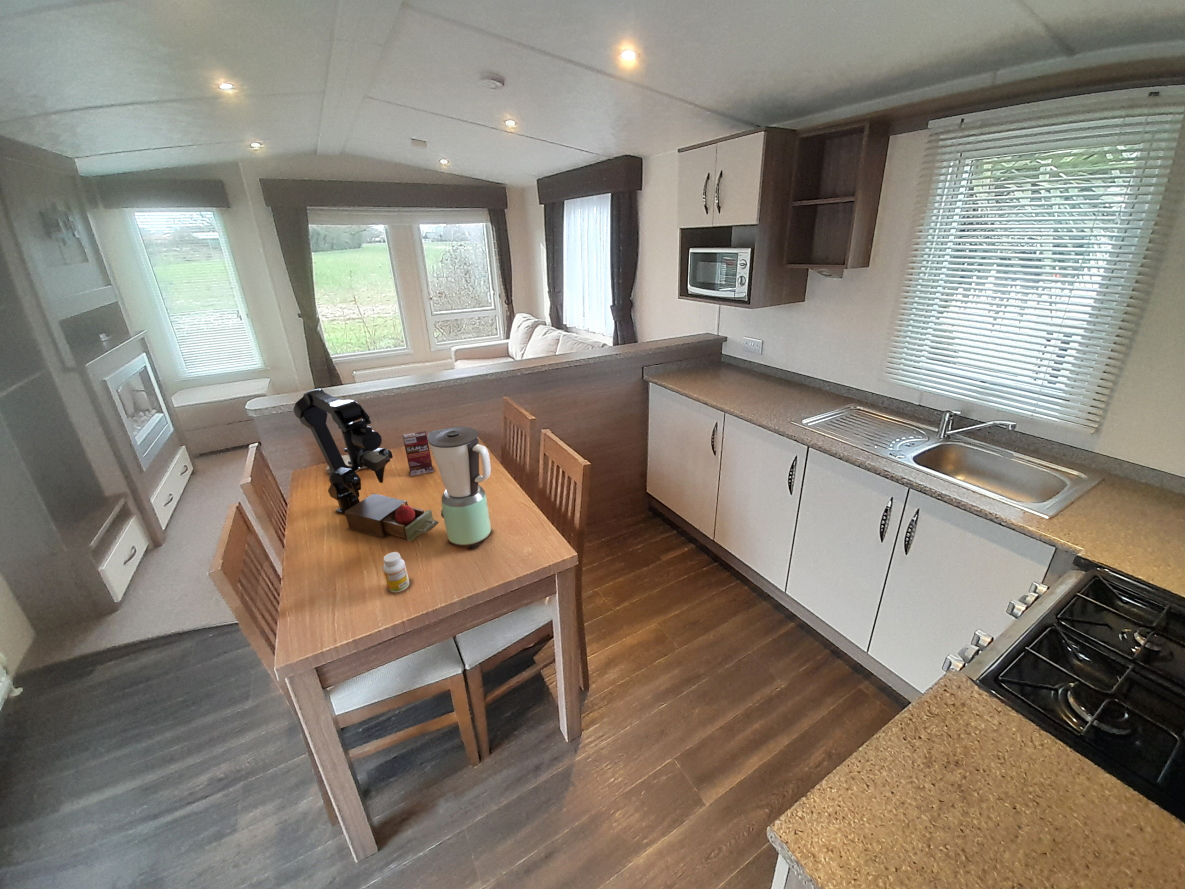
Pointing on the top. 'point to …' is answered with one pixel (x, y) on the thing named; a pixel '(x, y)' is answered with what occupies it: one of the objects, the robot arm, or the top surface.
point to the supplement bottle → (395, 572)
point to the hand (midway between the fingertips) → (369, 489)
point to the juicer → (462, 484)
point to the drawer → (410, 525)
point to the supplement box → (418, 453)
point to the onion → (405, 514)
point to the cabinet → (372, 514)
